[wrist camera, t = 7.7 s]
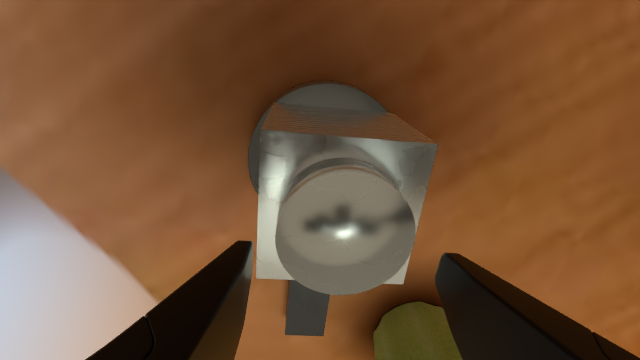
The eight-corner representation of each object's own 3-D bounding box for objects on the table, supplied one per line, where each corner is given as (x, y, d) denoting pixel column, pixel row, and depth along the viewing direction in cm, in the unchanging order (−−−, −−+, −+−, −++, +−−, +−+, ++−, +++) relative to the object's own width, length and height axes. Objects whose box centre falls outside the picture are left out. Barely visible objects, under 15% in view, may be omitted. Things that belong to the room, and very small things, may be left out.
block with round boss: (392, 113, 15) (459, 159, 9) (373, 216, 18) (415, 313, 11) (273, 102, 15) (253, 142, 8) (269, 210, 17) (250, 307, 11)
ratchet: (255, 71, 16) (238, 80, 12) (405, 88, 17) (444, 103, 12) (248, 314, 22) (234, 383, 18) (358, 318, 23) (372, 385, 19)
